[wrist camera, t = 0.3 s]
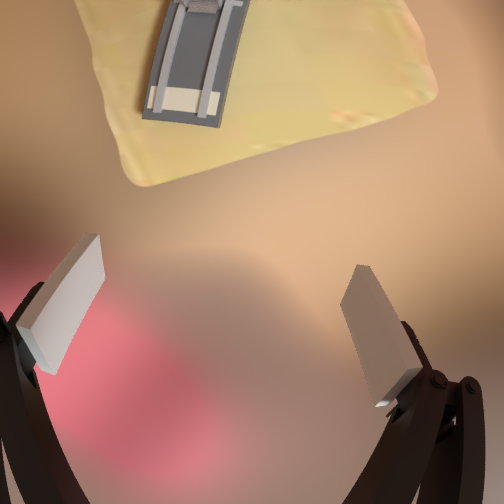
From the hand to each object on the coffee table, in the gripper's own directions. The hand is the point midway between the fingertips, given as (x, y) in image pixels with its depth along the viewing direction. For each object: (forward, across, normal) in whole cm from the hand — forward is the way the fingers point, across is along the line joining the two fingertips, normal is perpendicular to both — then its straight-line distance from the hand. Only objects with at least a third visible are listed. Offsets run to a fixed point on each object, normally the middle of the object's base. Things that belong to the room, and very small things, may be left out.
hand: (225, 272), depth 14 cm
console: (+28, -7, +14) cm, 32 cm away
